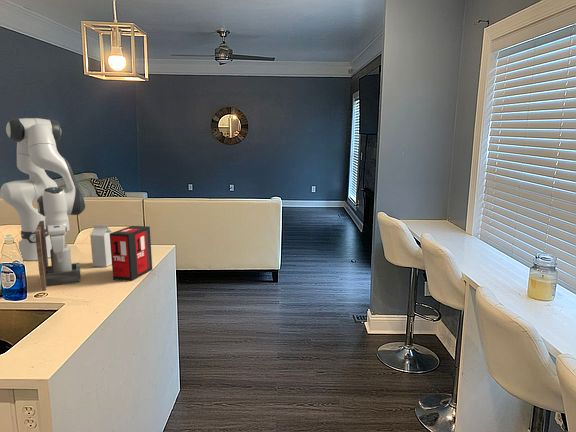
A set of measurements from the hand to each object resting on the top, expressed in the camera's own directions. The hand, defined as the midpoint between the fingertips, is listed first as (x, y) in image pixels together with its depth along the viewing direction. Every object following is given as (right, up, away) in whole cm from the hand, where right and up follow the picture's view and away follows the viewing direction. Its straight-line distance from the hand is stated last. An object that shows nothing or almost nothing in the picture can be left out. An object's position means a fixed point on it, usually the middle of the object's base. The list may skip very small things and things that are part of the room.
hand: (60, 259), depth 193 cm
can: (0, -6, +1) cm, 6 cm away
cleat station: (0, -9, +2) cm, 9 cm away
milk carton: (+9, -5, +24) cm, 26 cm away
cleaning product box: (+28, -8, +9) cm, 30 cm away
